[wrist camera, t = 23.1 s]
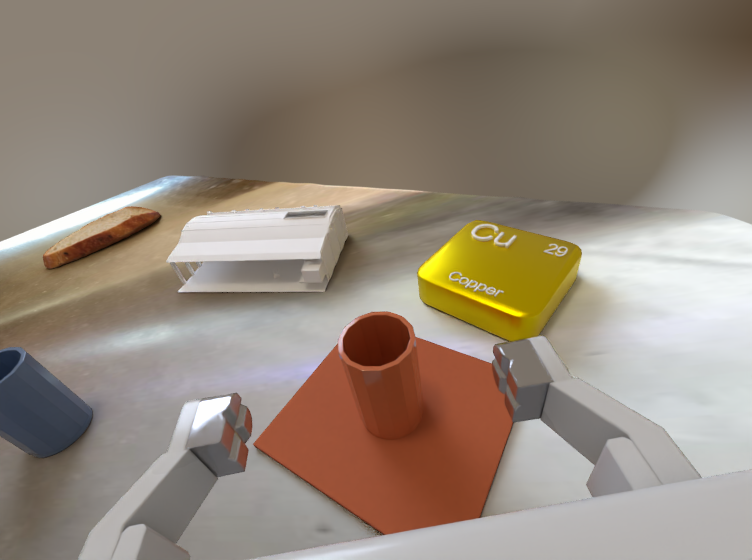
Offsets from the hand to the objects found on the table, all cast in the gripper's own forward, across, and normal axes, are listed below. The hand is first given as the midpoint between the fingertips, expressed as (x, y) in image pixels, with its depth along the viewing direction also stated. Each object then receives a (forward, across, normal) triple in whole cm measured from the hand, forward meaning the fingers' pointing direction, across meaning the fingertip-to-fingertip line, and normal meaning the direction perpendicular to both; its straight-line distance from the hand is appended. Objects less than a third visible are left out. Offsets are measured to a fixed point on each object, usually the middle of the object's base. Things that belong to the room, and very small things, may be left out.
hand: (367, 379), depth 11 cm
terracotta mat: (+12, 0, -22) cm, 25 cm away
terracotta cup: (+12, 0, -22) cm, 25 cm away
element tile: (+27, +15, -22) cm, 38 cm away
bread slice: (+62, -52, -22) cm, 84 cm away
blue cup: (+17, -36, -22) cm, 45 cm away
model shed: (+42, -17, -22) cm, 51 cm away
